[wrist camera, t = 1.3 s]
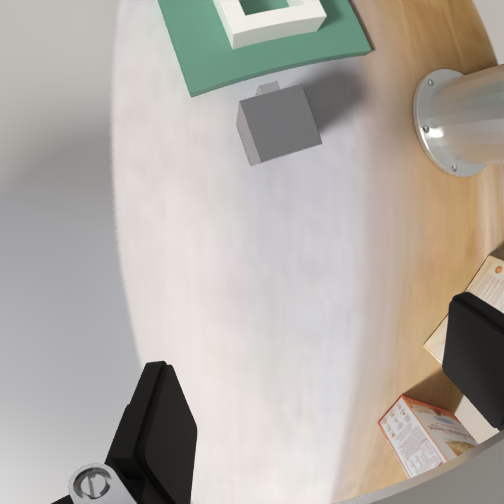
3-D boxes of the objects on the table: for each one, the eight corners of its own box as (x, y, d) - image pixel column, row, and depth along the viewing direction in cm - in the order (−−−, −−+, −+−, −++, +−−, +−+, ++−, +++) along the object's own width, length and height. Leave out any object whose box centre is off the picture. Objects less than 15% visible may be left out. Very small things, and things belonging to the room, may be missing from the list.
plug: (275, 107, 27) (298, 75, 17) (291, 153, 28) (322, 143, 18) (234, 119, 27) (236, 92, 17) (250, 166, 28) (260, 162, 18)
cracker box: (452, 408, 39) (518, 490, 18) (428, 434, 40) (485, 520, 19) (402, 391, 36) (479, 501, 16) (375, 422, 37) (435, 535, 17)
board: (315, -43, 22) (318, -50, 21) (365, 54, 26) (371, 50, 24) (155, -10, 23) (152, -17, 21) (191, 97, 26) (189, 93, 25)
